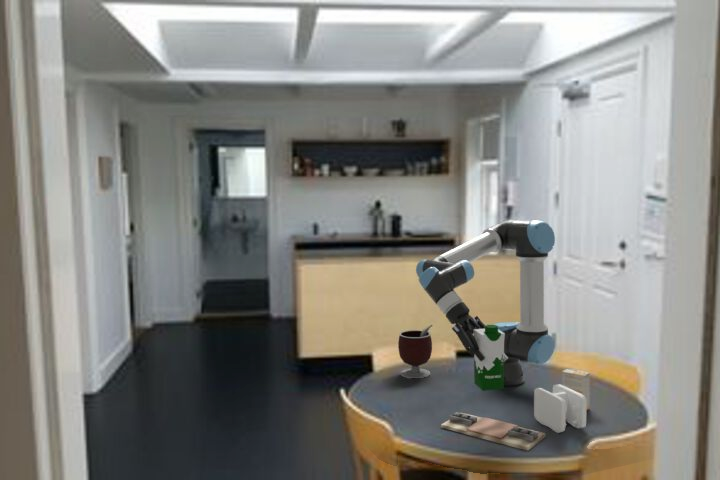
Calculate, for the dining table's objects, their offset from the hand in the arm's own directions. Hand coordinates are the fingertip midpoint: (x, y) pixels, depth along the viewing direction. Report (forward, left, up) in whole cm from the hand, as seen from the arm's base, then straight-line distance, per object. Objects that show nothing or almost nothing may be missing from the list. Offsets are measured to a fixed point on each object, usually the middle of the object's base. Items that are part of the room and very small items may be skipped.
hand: (498, 364), depth 198 cm
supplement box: (-37, -8, -23) cm, 44 cm away
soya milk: (+2, -3, -8) cm, 9 cm away
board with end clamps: (+1, -2, -23) cm, 23 cm away
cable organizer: (-22, +2, -23) cm, 32 cm away
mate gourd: (-4, -66, -23) cm, 70 cm away
